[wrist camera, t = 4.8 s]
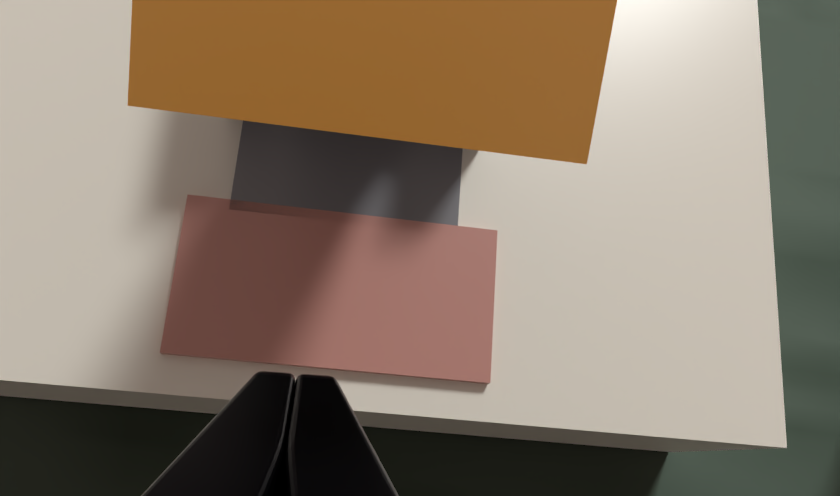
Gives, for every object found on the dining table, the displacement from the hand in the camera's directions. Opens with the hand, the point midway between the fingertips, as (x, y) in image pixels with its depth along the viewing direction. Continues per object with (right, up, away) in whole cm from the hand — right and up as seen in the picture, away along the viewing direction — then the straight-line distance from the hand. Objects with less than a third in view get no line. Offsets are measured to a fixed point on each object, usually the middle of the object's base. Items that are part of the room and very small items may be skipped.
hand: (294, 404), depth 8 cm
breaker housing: (0, +4, +12) cm, 13 cm away
